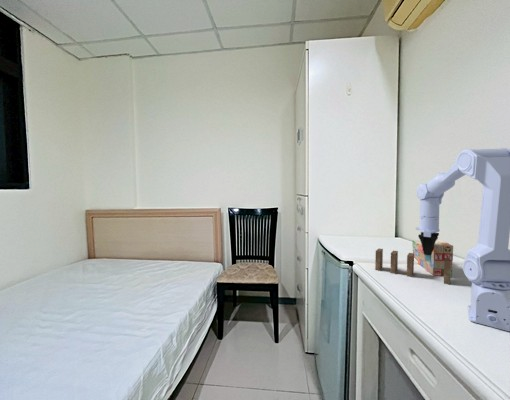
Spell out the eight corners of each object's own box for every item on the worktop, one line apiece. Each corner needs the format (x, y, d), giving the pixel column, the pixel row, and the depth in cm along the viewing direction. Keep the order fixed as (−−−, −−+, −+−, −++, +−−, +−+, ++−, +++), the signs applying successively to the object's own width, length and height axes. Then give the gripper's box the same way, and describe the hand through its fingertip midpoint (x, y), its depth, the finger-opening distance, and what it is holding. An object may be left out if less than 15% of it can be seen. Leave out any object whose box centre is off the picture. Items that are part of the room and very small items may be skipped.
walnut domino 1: (382, 267, 100) (382, 248, 99) (379, 270, 96) (379, 251, 95) (378, 266, 101) (378, 248, 100) (375, 269, 97) (375, 250, 96)
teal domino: (431, 258, 89) (431, 237, 88) (430, 261, 85) (430, 239, 84) (426, 257, 90) (426, 236, 89) (424, 260, 86) (425, 239, 85)
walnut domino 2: (397, 270, 96) (397, 251, 96) (395, 273, 92) (395, 253, 92) (392, 269, 97) (393, 250, 97) (390, 272, 93) (390, 253, 93)
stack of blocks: (412, 259, 110) (412, 233, 110) (427, 260, 109) (428, 234, 108) (433, 276, 90) (434, 244, 89) (452, 277, 88) (453, 245, 87)
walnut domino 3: (413, 273, 92) (414, 253, 92) (411, 277, 89) (412, 256, 88) (408, 272, 93) (409, 252, 93) (406, 276, 90) (407, 255, 89)
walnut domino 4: (449, 280, 85) (450, 258, 85) (449, 284, 81) (450, 261, 81) (444, 279, 86) (444, 257, 86) (443, 283, 83) (444, 261, 82)
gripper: (418, 214, 94) (417, 247, 95) (413, 217, 83) (412, 255, 84) (440, 215, 90) (439, 250, 91) (438, 219, 79) (437, 259, 80)
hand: (428, 253), depth 87 cm, fingers closed on teal domino, 5 cm apart
